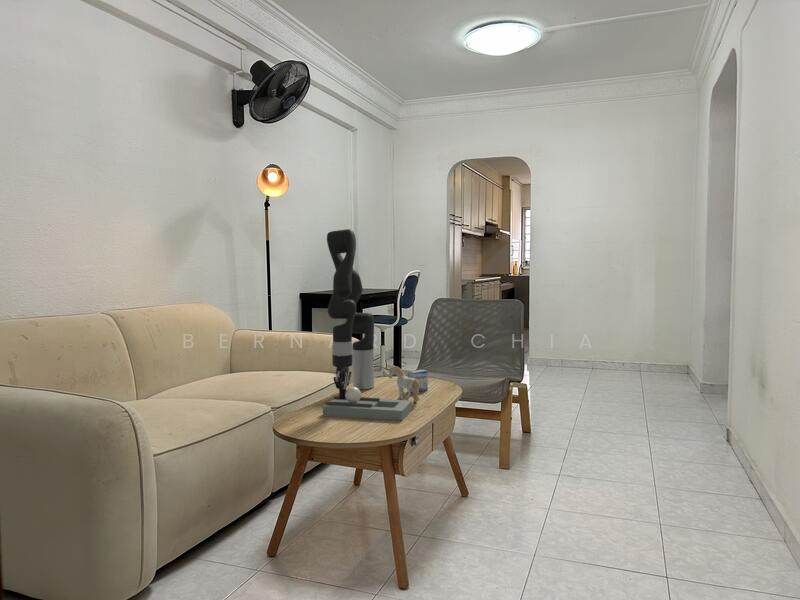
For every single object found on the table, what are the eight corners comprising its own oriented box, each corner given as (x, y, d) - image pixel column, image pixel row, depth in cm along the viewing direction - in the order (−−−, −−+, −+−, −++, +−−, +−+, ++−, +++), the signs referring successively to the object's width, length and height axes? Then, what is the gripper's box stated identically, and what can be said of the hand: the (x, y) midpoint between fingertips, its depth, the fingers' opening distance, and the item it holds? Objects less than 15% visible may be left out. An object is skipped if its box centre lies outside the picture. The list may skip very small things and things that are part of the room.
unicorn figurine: (390, 395, 244) (390, 363, 244) (428, 402, 232) (428, 368, 231) (379, 398, 239) (379, 366, 238) (417, 405, 227) (417, 371, 226)
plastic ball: (345, 392, 222) (355, 381, 221) (356, 403, 222) (366, 393, 220) (339, 396, 216) (349, 385, 215) (350, 408, 216) (361, 397, 214)
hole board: (337, 405, 228) (337, 394, 228) (412, 409, 221) (412, 398, 220) (322, 415, 214) (322, 403, 214) (402, 420, 206) (402, 408, 206)
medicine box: (414, 393, 248) (414, 372, 248) (407, 391, 252) (407, 371, 251) (428, 390, 253) (428, 370, 253) (421, 388, 257) (421, 369, 256)
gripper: (339, 350, 225) (339, 394, 227) (326, 355, 213) (326, 402, 214) (357, 350, 223) (358, 395, 225) (345, 356, 211) (345, 403, 212)
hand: (342, 398), depth 219 cm, fingers closed
